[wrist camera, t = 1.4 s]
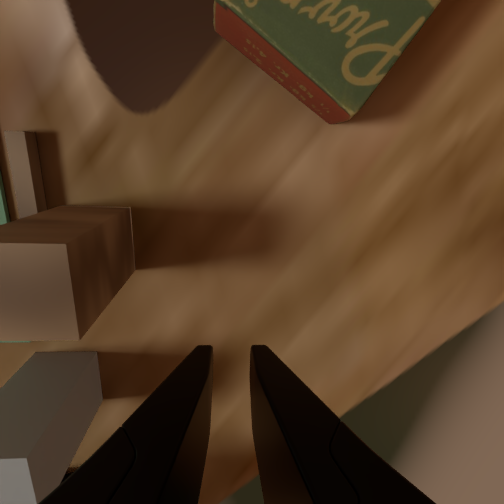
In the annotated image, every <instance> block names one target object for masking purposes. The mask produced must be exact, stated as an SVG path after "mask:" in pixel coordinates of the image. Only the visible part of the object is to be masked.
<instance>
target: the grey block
mask: <svg viewBox="0 0 504 504" xmlns="http://www.w3.org/2000/svg"><path fill="white" fill-rule="evenodd" d="M102 400H103V396H102V388H101V380H100V372H99V364H98V356H97V352H35V353H34V354H33V356H32V357H31V358H30V359H29V360H28V361H27V362H26V363H25V364H24V365H23V366H22V367H21V368H20V369H19V370H18V371H17V372H16V373H15V374H14V375H13V376H12V377H11V378H10V379H9V380H8V381H7V382H6V384H5V385H4V386H3V387H2V388H1V389H0V504H38V503H39V502H41V501H42V500H43V499H44V498H45V497H46V496H47V495H49V494H50V493H51V492H52V491H53V490H54V489H55V488H57V487H58V486H59V485H60V483H61V481H62V479H63V477H64V475H65V473H66V471H67V469H68V467H69V465H70V463H71V461H72V459H73V457H74V455H75V453H76V451H77V449H78V447H79V445H80V444H81V442H82V440H83V438H84V436H85V434H86V432H87V430H88V428H89V426H90V424H91V422H92V420H93V418H94V416H95V414H96V412H97V410H98V408H99V406H100V404H101V402H102Z"/></svg>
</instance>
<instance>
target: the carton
mask: <svg viewBox="0 0 504 504" xmlns="http://www.w3.org/2000/svg"><path fill="white" fill-rule="evenodd" d="M440 2H441V0H215V1H214V19H213V24H214V29H215V31H216V32H217V33H218V34H219V35H221V36H222V37H223V38H224V39H226V40H227V41H228V42H229V43H230V44H232V45H233V46H234V47H235V48H237V49H238V50H239V51H240V52H241V53H242V54H244V55H245V56H246V57H247V58H249V59H250V60H251V61H252V62H253V63H255V64H256V65H257V66H258V67H260V68H261V69H262V70H263V71H265V72H266V73H267V74H268V75H270V76H271V77H272V78H273V79H274V80H276V81H277V82H278V83H279V84H281V85H282V86H283V87H284V88H286V89H287V90H288V91H289V92H290V93H292V94H293V95H294V96H295V97H296V98H298V99H299V100H300V101H301V102H302V103H304V104H305V105H306V106H307V107H309V108H310V109H311V110H312V111H314V112H315V113H316V114H317V115H319V116H320V117H321V118H322V119H323V120H325V121H326V122H327V123H329V124H337V123H342V122H345V121H348V120H349V119H351V118H352V117H353V116H354V115H355V114H356V113H357V112H358V111H359V110H360V109H361V107H362V106H363V105H364V104H365V102H366V101H367V100H368V98H369V97H370V96H371V94H372V93H373V91H374V90H375V88H376V87H377V86H378V85H379V83H380V82H381V81H382V79H383V78H384V77H385V76H386V74H387V73H388V71H389V70H390V69H391V67H392V66H393V65H394V63H395V62H396V61H397V59H398V58H399V57H400V55H401V54H402V53H403V51H404V50H405V49H406V47H407V46H408V45H409V43H410V42H411V41H412V39H413V38H414V37H415V35H416V34H417V33H418V31H419V30H420V29H421V27H422V26H423V25H424V23H425V22H426V20H427V19H428V18H429V17H430V15H431V14H432V13H433V11H434V10H435V8H436V7H437V5H438V4H439V3H440Z"/></svg>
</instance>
